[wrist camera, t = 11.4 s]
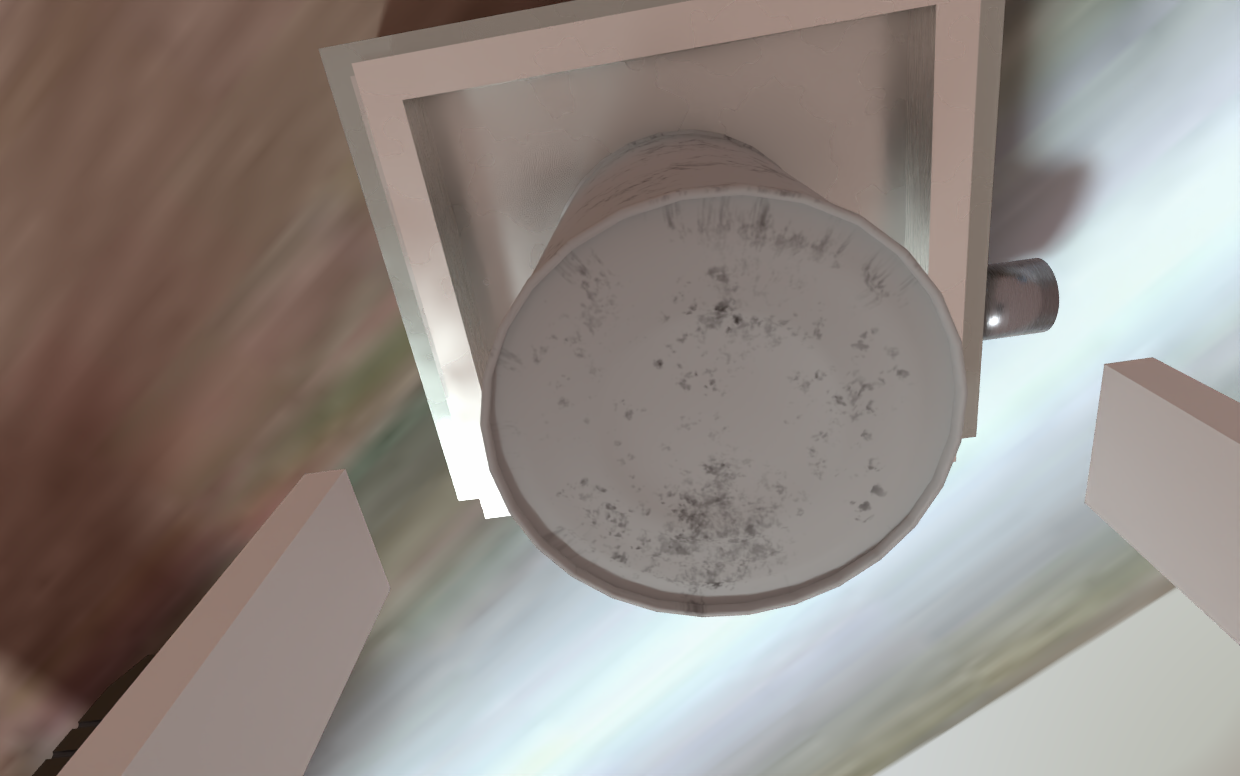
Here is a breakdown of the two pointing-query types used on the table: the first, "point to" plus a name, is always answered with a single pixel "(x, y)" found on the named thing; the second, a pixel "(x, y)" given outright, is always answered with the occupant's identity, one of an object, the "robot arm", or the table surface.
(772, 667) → the table surface
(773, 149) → the gearbox
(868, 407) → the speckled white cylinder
